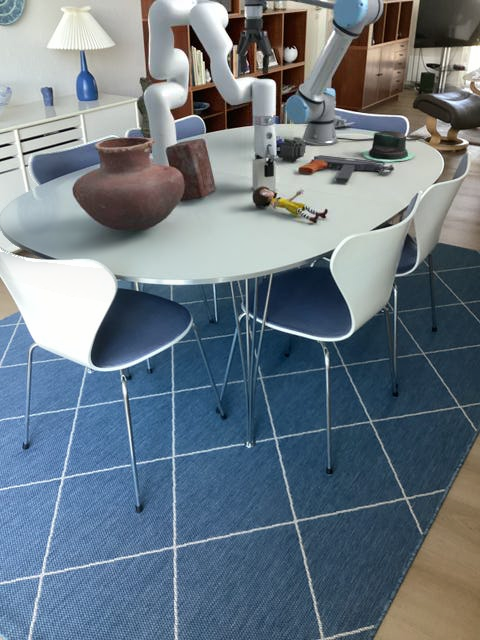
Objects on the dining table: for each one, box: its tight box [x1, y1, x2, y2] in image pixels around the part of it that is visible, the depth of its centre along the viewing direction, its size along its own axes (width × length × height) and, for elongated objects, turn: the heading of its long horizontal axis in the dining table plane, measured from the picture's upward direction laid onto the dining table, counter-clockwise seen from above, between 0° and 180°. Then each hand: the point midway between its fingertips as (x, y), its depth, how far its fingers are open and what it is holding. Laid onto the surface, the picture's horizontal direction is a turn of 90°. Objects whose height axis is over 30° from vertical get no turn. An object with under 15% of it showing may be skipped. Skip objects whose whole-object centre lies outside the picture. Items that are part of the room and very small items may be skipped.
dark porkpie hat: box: [362, 130, 414, 163], centre depth 226 cm, size 15×19×20 cm
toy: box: [276, 135, 306, 163], centre depth 223 cm, size 9×9×15 cm
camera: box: [334, 100, 355, 128], centre depth 275 cm, size 9×12×15 cm
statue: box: [136, 76, 153, 152], centre depth 237 cm, size 11×9×30 cm
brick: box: [251, 158, 277, 191], centre depth 190 cm, size 5×6×10 cm
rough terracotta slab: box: [166, 138, 217, 202], centre depth 188 cm, size 17×10×40 cm
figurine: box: [251, 186, 329, 224], centre depth 169 cm, size 13×8×25 cm
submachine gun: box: [298, 154, 395, 183], centre depth 205 cm, size 32×3×25 cm
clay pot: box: [72, 136, 185, 232], centre depth 155 cm, size 30×30×25 cm
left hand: (264, 172), depth 190 cm, fingers open, 9 cm apart
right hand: (254, 73), depth 244 cm, fingers open, 13 cm apart
